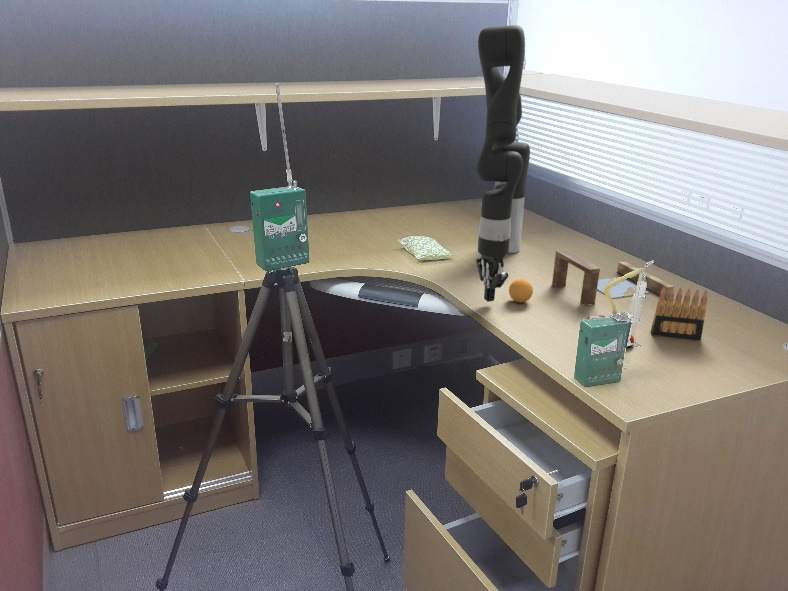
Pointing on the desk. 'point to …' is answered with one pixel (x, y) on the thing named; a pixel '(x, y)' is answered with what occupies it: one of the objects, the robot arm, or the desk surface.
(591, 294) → the bridge
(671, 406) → the desk surface
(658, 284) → the stopper wall
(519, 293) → the ball
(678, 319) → the ammunition clip
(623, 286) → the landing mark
